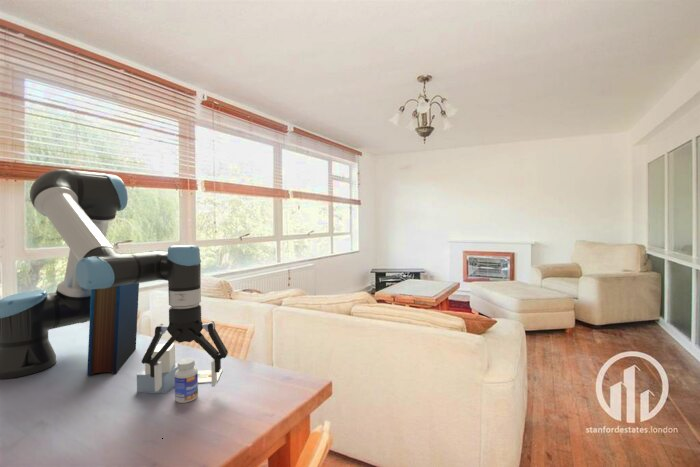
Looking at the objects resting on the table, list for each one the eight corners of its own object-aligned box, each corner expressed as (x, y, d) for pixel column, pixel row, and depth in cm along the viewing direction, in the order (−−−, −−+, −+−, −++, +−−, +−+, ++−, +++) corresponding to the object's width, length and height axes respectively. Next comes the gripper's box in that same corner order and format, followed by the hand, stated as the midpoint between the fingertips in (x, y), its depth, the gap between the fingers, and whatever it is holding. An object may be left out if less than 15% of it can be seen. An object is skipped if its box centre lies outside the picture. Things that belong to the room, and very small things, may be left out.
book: (110, 347, 124) (113, 263, 123) (138, 346, 127) (141, 264, 126) (81, 376, 101) (85, 273, 100) (116, 374, 104) (120, 274, 103)
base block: (137, 392, 93) (136, 374, 93) (156, 379, 101) (156, 362, 101) (164, 394, 92) (164, 376, 92) (182, 380, 100) (182, 363, 100)
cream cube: (145, 374, 93) (144, 352, 93) (152, 365, 99) (151, 344, 98) (169, 372, 94) (169, 350, 94) (175, 363, 100) (174, 342, 100)
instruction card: (179, 384, 97) (179, 383, 97) (187, 372, 105) (187, 371, 105) (217, 382, 99) (217, 380, 99) (222, 370, 107) (222, 368, 106)
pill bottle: (189, 404, 87) (188, 366, 86) (170, 402, 88) (169, 364, 87) (202, 394, 92) (201, 358, 91) (184, 392, 93) (183, 356, 93)
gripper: (125, 311, 83) (127, 398, 84) (233, 306, 87) (234, 389, 88) (138, 304, 90) (140, 383, 91) (237, 300, 95) (238, 376, 95)
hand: (186, 386), depth 90 cm, fingers open, 13 cm apart
